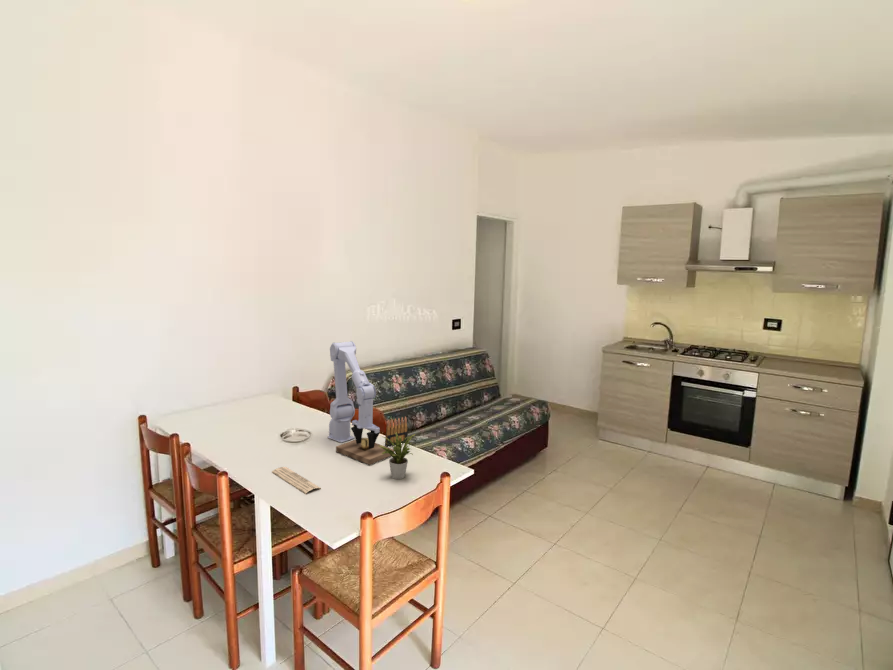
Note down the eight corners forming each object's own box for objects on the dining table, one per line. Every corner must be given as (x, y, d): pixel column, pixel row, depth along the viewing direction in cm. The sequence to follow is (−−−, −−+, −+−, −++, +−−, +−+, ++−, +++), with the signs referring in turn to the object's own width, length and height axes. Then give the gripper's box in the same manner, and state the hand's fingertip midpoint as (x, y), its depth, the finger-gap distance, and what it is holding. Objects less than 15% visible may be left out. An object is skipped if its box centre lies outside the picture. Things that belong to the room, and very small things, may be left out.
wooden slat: (271, 474, 183) (271, 469, 183) (288, 468, 188) (288, 464, 188) (305, 496, 168) (305, 491, 167) (323, 489, 173) (323, 485, 172)
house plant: (399, 463, 196) (400, 424, 193) (425, 474, 187) (426, 433, 185) (372, 474, 185) (373, 433, 182) (398, 486, 176) (400, 443, 174)
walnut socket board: (336, 452, 204) (336, 446, 204) (360, 443, 215) (360, 437, 215) (369, 465, 193) (369, 459, 192) (394, 455, 204) (394, 449, 203)
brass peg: (359, 452, 204) (359, 438, 203) (365, 450, 206) (365, 437, 205) (364, 454, 202) (364, 440, 201) (369, 452, 204) (370, 439, 203)
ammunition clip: (405, 441, 220) (406, 415, 218) (407, 442, 219) (408, 416, 217) (384, 445, 214) (385, 419, 212) (386, 447, 212) (387, 420, 211)
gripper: (346, 412, 203) (346, 443, 205) (371, 420, 194) (370, 452, 196) (359, 408, 208) (358, 439, 210) (383, 416, 200) (382, 448, 202)
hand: (365, 445), depth 203 cm, fingers open, 7 cm apart
